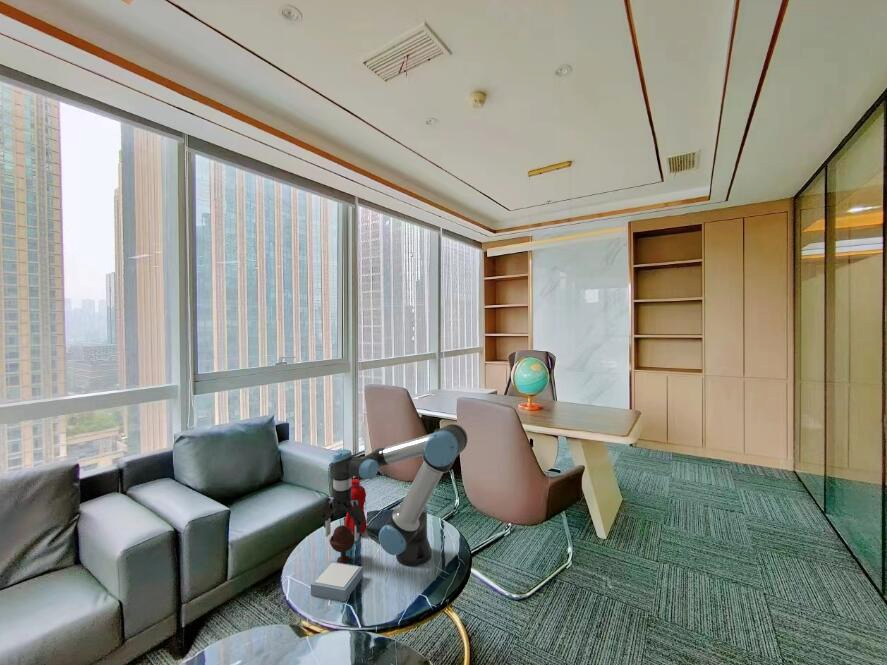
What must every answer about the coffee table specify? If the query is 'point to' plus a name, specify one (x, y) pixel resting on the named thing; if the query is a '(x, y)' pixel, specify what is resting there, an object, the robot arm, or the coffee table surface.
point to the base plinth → (337, 581)
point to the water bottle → (359, 494)
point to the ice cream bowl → (342, 542)
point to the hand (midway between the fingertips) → (342, 537)
